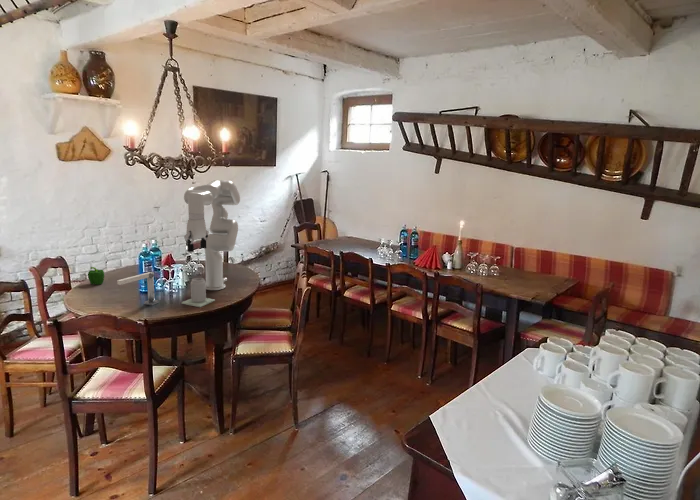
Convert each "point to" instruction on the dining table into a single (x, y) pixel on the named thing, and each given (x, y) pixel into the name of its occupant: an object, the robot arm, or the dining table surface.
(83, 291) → the dining table surface
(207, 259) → the robot arm
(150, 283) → the post
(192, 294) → the can
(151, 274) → the light grey bar
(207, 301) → the pad
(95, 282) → the bell pepper
